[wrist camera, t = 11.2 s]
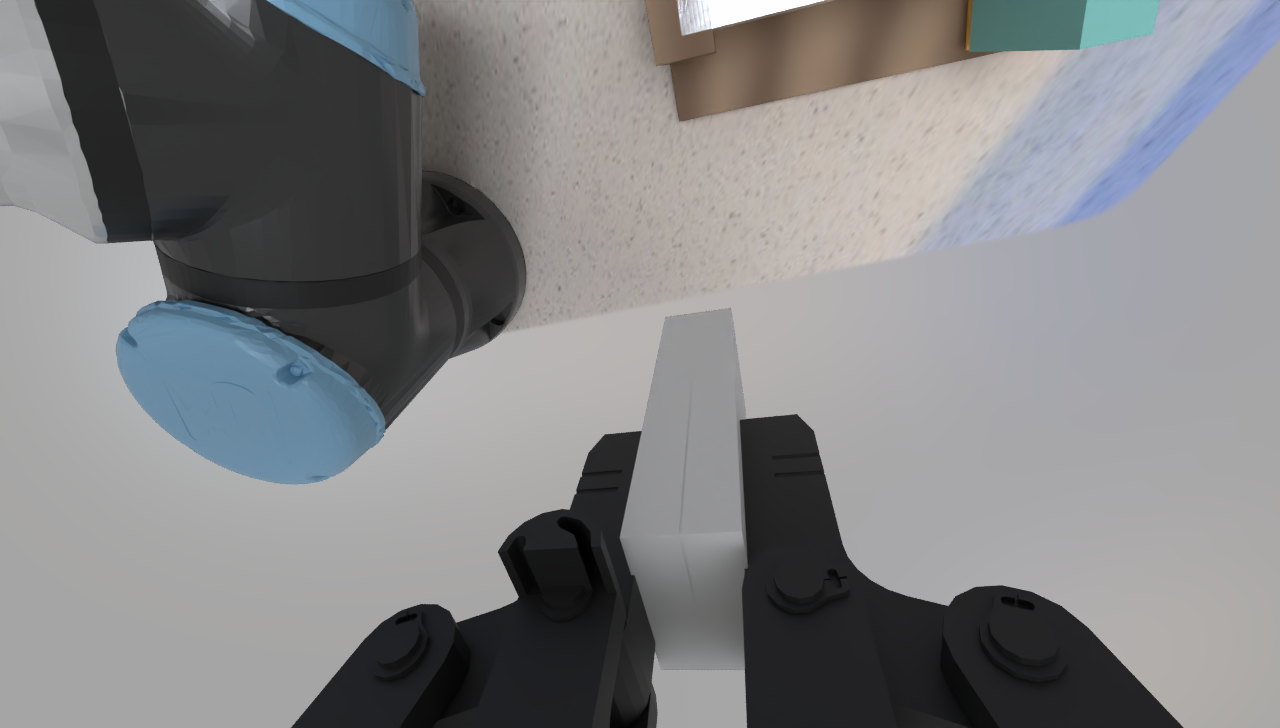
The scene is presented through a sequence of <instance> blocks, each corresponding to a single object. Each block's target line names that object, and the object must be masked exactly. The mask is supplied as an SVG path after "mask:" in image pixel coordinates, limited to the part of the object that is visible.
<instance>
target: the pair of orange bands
mask: <svg viewBox="0 0 1280 728" xmlns="http://www.w3.org/2000/svg"><path fill="white" fill-rule="evenodd" d="M972 6H973V0H968V13H967V29H966V44H965V50H970V35H971V21H972Z"/></svg>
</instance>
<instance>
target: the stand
mask: <svg viewBox="0 0 1280 728" xmlns="http://www.w3.org/2000/svg"><path fill="white" fill-rule="evenodd" d="M691 1H692V2H690V0H687V1H686V2H687V3H683V4H688V3H691V4H692V7H693V6H695V9H696V8H697V9H699V8H698V4H699V3H697V0H696V3H697V4H696V5H697V7H696V5H694V4H695V3H693V0H691ZM694 1H695V0H694ZM700 1H701V2H702V1H703V0H700ZM681 2H685V1H682V0H681ZM698 2H699V1H698ZM706 2H707V1H706ZM706 2H705V0H704V3H706ZM708 2H709V1H708ZM708 2H707V3H706V4H708ZM645 3H646V9H647V15H648V21H649V27H650V32H651V38H652V44H653V50H654V56H655V62H656V66H658V65H666V64H670V66H671V72H672V78H673V85H674V91H675V97H676V103H677V110H678V116H679V122H680V121H685V120H689V119H694V118H698V117H703V116H708V115H712V114H717V113H721V112H726V111H731V110H735V109H740V108H744V107H749V106H754V105H758V104H763V103H767V102H772V101H777V100H781V99H786V98H790V97H795V96H800V95H804V94H809V93H813V92H818V91H823V90H827V89H832V88H836V87H841V86H846V85H850V84H855V83H859V82H864V81H869V80H873V79H878V78H882V77H887V76H892V75H896V74H901V73H905V72H910V71H915V70H919V69H924V68H928V67H933V66H938V65H942V64H947V63H951V62H956V61H961V60H965V59H970V58H974V57H979V56H984V55H988V54H993V53H997V52H1002V51H992V52H969V50H965V44H966V29H967V13H968V0H834V1H830V2H826V3H822V4H818V5H814V6H810V7H806V8H803V9H799V10H795V11H791V12H787V13H783V14H779V15H775V16H771V17H767V18H763V19H759V20H755V21H751V22H747V23H743V24H739V25H735V26H731V27H727V28H723V29H719V30H715V31H713V28H710V27H712V26H709V29H707V27H708V26H705V25H706V24H707V23H709V22H710V24H707V25H711V24H712V23H711V22H712V21H709V19H710V17H711V16H710V17H709V19H708V21H709V22H708V21H707V20H706V21H707V23H706V22H704V23H706V24H704V26H705V27H706V29H707V30H706V29H705V30H704V28H703V30H702V29H700V31H699V29H698V31H699V32H696V31H697V30H696V29H697V28H696V29H695V28H694V27H693V31H694V32H692V33H691V32H690V30H689V27H691V26H693V24H695V25H696V24H699V23H697V22H700V20H699V21H696V20H697V19H695V22H696V23H694V20H693V22H692V19H694V18H687V17H689V16H691V15H689V16H688V14H689V13H688V14H687V16H686V14H685V15H684V11H682V10H681V12H680V13H679V12H678V9H682V8H679V5H681V3H680V0H678V2H677V0H645ZM677 3H678V4H677ZM702 3H703V2H702ZM702 3H701V4H702ZM704 3H703V4H704ZM682 6H684V5H682ZM689 6H690V5H689ZM699 6H700V5H699ZM706 6H708V5H706ZM680 7H681V6H680ZM684 7H685V9H686V10H687V7H686V5H685V6H684ZM701 8H703V6H702V7H701ZM701 8H700V9H701ZM708 8H710V7H708ZM705 9H706V8H705ZM686 10H685V11H686ZM688 10H689V12H692V11H690V10H692V9H688ZM688 10H687V11H688ZM708 10H710V9H706V10H705V11H706V12H707V13H706V14H707V15H708V16H709V14H708V13H709V12H710V11H708ZM679 11H680V10H679ZM700 11H701V13H700V14H702V13H704V12H705V11H704V9H702V10H700ZM702 11H703V12H702ZM696 12H697V10H696ZM696 12H695V11H694V9H693V13H691V14H694V15H696V16H697V13H696ZM698 12H699V11H698ZM682 13H683V14H682ZM685 13H686V12H685ZM710 13H711V12H710ZM679 14H680V15H682V16H683V15H684V16H683V17H685V19H691V20H690V23H691V22H692V23H693V24H691V26H689V25H690V24H687V23H686V22H685V20H684V19H683V20H684V22H685V23H683V22H682V26H684V25H685V24H686V26H687V27H688V28H687V31H689V32H690V33H691V34H687V35H685V34H686V33H687V32H685V33H684V34H683V32H684V31H685V30H686V29H685V28H684V29H685V30H683V29H682V30H683V31H682V30H681V27H682V26H681V25H680V23H681V21H680V19H679ZM698 14H699V13H698ZM700 14H699V15H698V16H697V17H699V18H700V17H701V16H702V15H700ZM692 16H693V15H692ZM708 16H707V17H708ZM697 17H696V18H697ZM704 17H706V16H705V15H704ZM681 19H682V18H681ZM706 19H707V18H706ZM683 20H682V21H683ZM701 20H702V17H701ZM703 20H704V21H705V18H704V19H703ZM686 21H687V20H686ZM688 23H689V22H688ZM700 23H701V22H700ZM683 24H684V25H683ZM700 25H701V26H700V28H702V27H703V26H702V23H701V24H700ZM696 26H697V27H698V28H699V26H698V25H696ZM694 29H695V30H696V31H695V30H694ZM691 31H692V28H691Z"/></svg>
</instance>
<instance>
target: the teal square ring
mask: <svg viewBox="0 0 1280 728" xmlns="http://www.w3.org/2000/svg"><path fill="white" fill-rule="evenodd" d="M1159 1H1160V0H973V6H972V21H971V35H970V50H969V52H992V51H1033V50H1074V49H1084V48H1088V47H1093V46H1098V45H1103V44H1107V43H1112V42H1117V41H1121V40H1126V39H1131V38H1136V37H1140V36H1145V35H1150V34H1153V30H1154V25H1155V20H1156V15H1157V10H1158V6H1159Z"/></svg>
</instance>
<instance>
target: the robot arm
mask: <svg viewBox="0 0 1280 728" xmlns="http://www.w3.org/2000/svg"><path fill="white" fill-rule="evenodd" d="M425 96H426V90H425V87H424V84H423V83H422V81H421V77H420V56H419V36H418V19H417V14H416V9H415V6H414V3H413V1H412V0H0V206H17V207H21V208H24V209H27V210H30V211H34V212H37V213H40V214H41V215H43V216H45V217H47V218H49V219H51V220H53V221H54V222H56V223H58V224H60V225H62V226H64V227H66V228H68V229H70V230H72V231H74V232H75V233H77V234H79V235H81V236H83V237H85V238H87V239H89V240H91V241H92V242H94V243H116V242H133V241H149V240H151V241H153V242H154V244H155V247H156V251H157V255H158V259H159V263H160V266H161V270H162V275H163V278H164V282H165V285H166V289H167V298H166V301H156V302H154V303H151V304H149V305H147V306H144V307H143V308H141V309H140V310H139V311H138V312H137V314H136V317H134V318H133V319H132V320H131V321H130V322H129V324H128V327H127V328H125V329H124V330H122V332H121V333H120V334H119V337H118V341H117V344H116V355H117V361H118V366H119V370H120V372H121V375H122V377H123V379H124V381H125V383H126V385H127V387H128V389H129V390H130V392H131V393H132V395H133V396H134V398H135V399H136V400H137V402H138V403H139V404H140V405H141V407H142V408H143V409H144V410H145V411H146V412H147V413H148V414H149V415H150V416H151V417H152V419H153V420H155V422H156V423H158V424H159V425H160V426H161V427H162V428H163V429H164V430H165V431H167V432H168V433H169V434H170V435H171V436H173V437H174V438H175V439H177V440H178V441H180V442H181V443H183V444H185V445H186V446H188V447H189V448H190V449H192V450H193V451H194V452H196V453H198V454H199V455H201V456H203V457H204V458H206V459H208V460H210V461H212V462H214V463H216V464H218V465H220V466H222V467H224V468H227V469H229V470H231V471H234V472H236V473H239V474H242V475H245V476H248V477H251V478H255V479H259V480H264V481H268V482H274V483H280V484H308V483H314V482H319V481H323V480H326V479H328V478H330V477H332V476H335V475H336V474H339V473H341V472H343V471H344V470H345V469H347V468H348V467H349V466H350V465H351V464H353V463H354V462H355V461H356V460H357V459H358V458H359V457H360V456H362V455H363V454H364V453H365V452H366V451H367V450H368V449H370V448H371V447H373V446H375V445H376V444H377V443H378V442H379V441H380V440H381V439H382V437H383V436H384V435H383V433H385V430H386V429H387V428H388V427H389V426H390V425H391V424H392V422H393V421H394V420H395V419H396V418H397V417H398V416H399V414H400V413H401V412H402V411H403V410H404V409H405V408H406V407H407V405H408V404H409V403H410V402H411V401H412V399H414V397H415V396H416V395H417V394H418V393H419V392H420V391H421V390H422V389H423V387H424V386H425V385H426V384H427V383H428V382H429V381H430V379H431V378H432V377H433V376H434V375H435V374H436V373H437V371H438V370H439V369H440V368H441V367H442V366H443V365H444V364H445V362H446V361H447V360H448V359H450V358H452V357H455V356H458V355H461V354H464V353H466V352H469V351H472V350H475V349H477V348H479V347H482V346H484V345H485V344H487V343H488V342H490V341H491V340H493V339H494V338H495V337H497V336H498V335H499V334H500V333H501V332H502V331H503V330H504V328H505V327H506V326H507V325H508V324H509V322H510V321H511V320H512V319H513V317H514V316H515V314H516V313H517V311H518V309H519V307H520V305H521V302H522V299H523V296H524V291H525V284H526V270H525V262H524V257H523V253H522V250H521V247H520V244H519V242H518V239H517V237H516V235H515V233H514V231H513V229H512V228H511V226H510V224H509V223H508V221H507V220H506V218H505V217H504V216H503V214H502V213H501V212H500V211H499V210H498V208H497V207H496V206H495V205H494V204H493V203H492V202H491V201H490V200H489V199H487V198H486V197H485V196H484V195H483V194H481V193H480V192H479V191H477V190H476V189H474V188H473V187H471V186H470V185H468V184H466V183H464V182H462V181H460V180H458V179H456V178H453V177H451V176H448V175H445V174H441V173H437V172H431V171H422V97H425ZM498 553H499V555H500V557H501V560H502V562H503V564H504V566H505V568H506V570H507V572H508V575H509V577H510V579H511V581H512V583H513V585H514V587H515V590H516V592H517V594H518V596H519V598H518V600H517V601H515V602H514V603H511V604H509V605H507V606H504V607H502V608H500V609H497V610H494V611H491V612H488V613H485V614H482V615H479V616H476V617H473V618H470V619H467V620H464V621H460V622H457V623H456V622H455V620H454V619H453V617H452V615H451V613H450V611H448V610H446V609H444V608H442V607H441V606H439V605H436V604H420V605H417V606H414V607H411V608H407V609H404V610H402V611H400V612H398V613H396V614H395V615H393V616H392V617H390V618H389V619H387V620H385V621H384V622H382V623H381V624H380V625H379V626H378V627H377V628H376V629H375V630H374V631H373V632H372V633H371V634H370V635H369V636H368V637H367V638H365V640H364V641H363V642H362V643H361V644H360V645H359V647H358V648H357V649H356V650H355V652H354V653H353V654H352V655H351V656H350V657H349V659H348V660H347V661H346V662H345V664H344V665H343V666H342V667H341V668H340V670H339V671H338V672H337V673H336V674H335V676H334V677H333V678H332V679H331V680H330V682H329V683H328V684H327V685H326V686H325V688H324V689H323V690H322V691H321V692H320V694H319V695H318V696H317V698H315V700H314V701H313V702H312V703H311V704H310V706H309V707H308V708H307V709H306V711H305V712H304V713H303V714H302V715H301V716H300V718H299V719H298V720H297V721H296V723H295V724H294V725H293V726H292V727H291V728H656V724H657V702H656V694H655V691H654V688H653V685H652V682H651V681H652V672H653V663H654V662H653V661H654V653H655V652H656V655H657V658H658V662H659V665H660V668H661V670H745V683H746V684H745V685H746V710H747V728H1183V727H1182V726H1181V725H1180V723H1179V722H1178V721H1177V720H1176V719H1175V718H1174V717H1173V716H1172V715H1171V714H1170V713H1169V712H1168V711H1167V710H1166V709H1165V708H1164V707H1163V706H1162V705H1161V704H1160V703H1159V701H1158V700H1157V699H1156V698H1154V696H1153V695H1152V694H1151V693H1150V692H1149V691H1148V690H1147V689H1146V688H1145V687H1144V686H1143V685H1142V684H1141V683H1140V682H1139V681H1138V679H1137V678H1136V677H1135V676H1134V675H1133V674H1132V673H1131V672H1130V671H1129V670H1128V669H1127V668H1126V667H1125V666H1124V665H1123V664H1122V663H1121V662H1120V661H1119V660H1118V659H1117V657H1116V656H1115V655H1114V654H1113V653H1112V652H1111V651H1110V650H1109V649H1108V648H1107V647H1106V646H1105V645H1104V644H1103V643H1102V642H1101V641H1100V640H1099V639H1098V638H1097V637H1096V635H1094V634H1093V632H1092V631H1091V630H1090V629H1089V628H1088V627H1087V626H1085V625H1084V624H1083V623H1082V622H1080V621H1079V620H1078V619H1077V618H1076V617H1074V616H1073V615H1072V614H1071V613H1069V612H1068V611H1067V610H1066V609H1064V608H1063V607H1062V606H1060V605H1058V604H1056V603H1054V602H1052V601H1050V600H1047V599H1045V598H1043V597H1041V596H1039V595H1037V594H1035V593H1033V592H1030V591H1025V590H1020V589H1016V588H1011V587H1006V586H984V587H975V588H972V589H970V590H968V591H966V592H964V593H962V594H960V595H958V596H955V598H954V599H953V601H952V602H951V604H950V605H949V606H946V605H941V604H937V603H933V602H929V601H925V600H921V599H917V598H912V597H908V596H905V595H902V594H899V593H896V592H893V591H890V590H888V589H886V588H884V587H882V586H880V585H878V584H877V583H875V582H873V581H871V580H870V579H868V578H867V577H866V576H865V575H864V574H863V573H861V572H860V571H859V570H858V569H857V568H856V567H855V566H854V565H853V563H852V562H851V560H850V559H849V558H848V556H847V554H846V551H845V549H844V547H843V544H842V540H841V537H840V532H839V529H838V525H837V521H836V517H835V513H834V509H833V505H832V501H831V497H830V493H829V489H828V485H827V482H826V477H825V474H824V469H823V466H822V462H821V458H820V455H819V450H818V446H817V442H816V438H815V434H814V431H813V430H812V429H811V428H810V427H809V426H808V425H807V424H806V423H805V422H804V421H803V420H802V419H801V418H800V417H799V416H798V415H797V414H795V415H785V416H774V417H764V418H753V419H746V412H745V403H744V397H743V389H742V382H741V375H740V368H739V361H738V353H737V346H736V339H735V332H734V325H733V317H732V310H731V308H728V309H721V310H713V311H706V312H699V313H692V314H684V315H677V316H670V317H665V322H664V327H663V331H662V336H661V341H660V346H659V351H658V355H657V360H656V365H655V370H654V375H653V380H652V385H651V390H650V395H649V399H648V404H647V409H646V413H645V418H644V423H643V428H642V431H637V432H626V433H616V434H605V435H604V436H603V437H602V438H601V440H600V441H599V442H598V443H597V444H596V445H595V446H594V447H593V449H592V450H591V451H590V452H589V453H588V456H587V459H586V462H585V465H584V469H583V472H582V477H581V478H580V480H579V484H578V486H577V494H575V496H574V499H573V502H572V505H571V508H570V510H566V509H561V510H556V511H551V512H546V513H542V514H540V515H538V516H536V517H534V518H532V519H530V520H528V521H526V522H524V523H523V524H522V525H521V526H519V527H518V528H517V529H516V530H515V531H513V532H512V533H511V534H510V535H509V536H508V537H507V539H506V541H505V542H504V543H503V545H502V546H501V548H500V549H499V551H498Z"/></svg>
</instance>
